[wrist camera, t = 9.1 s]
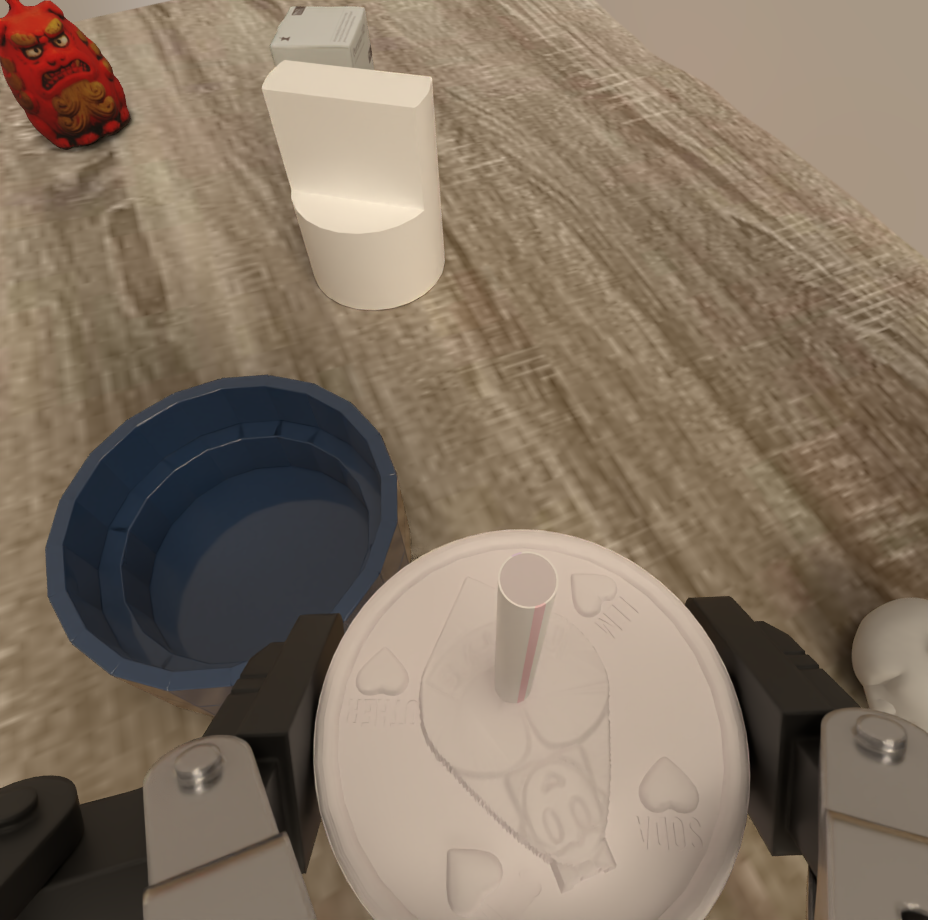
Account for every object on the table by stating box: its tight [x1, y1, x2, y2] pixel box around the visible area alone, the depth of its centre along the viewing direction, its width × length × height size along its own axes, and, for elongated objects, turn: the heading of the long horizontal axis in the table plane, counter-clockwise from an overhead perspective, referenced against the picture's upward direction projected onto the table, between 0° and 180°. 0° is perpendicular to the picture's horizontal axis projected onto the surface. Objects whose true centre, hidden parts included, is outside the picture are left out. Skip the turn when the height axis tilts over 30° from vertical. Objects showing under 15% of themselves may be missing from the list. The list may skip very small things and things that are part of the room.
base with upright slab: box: [262, 60, 445, 310], centre depth 39 cm, size 9×9×12 cm
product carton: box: [270, 6, 374, 70], centre depth 50 cm, size 6×6×7 cm
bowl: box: [45, 375, 411, 717], centre depth 29 cm, size 14×14×6 cm
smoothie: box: [313, 529, 750, 920], centre depth 12 cm, size 6×6×14 cm
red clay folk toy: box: [0, 0, 131, 150], centre depth 47 cm, size 8×7×15 cm
